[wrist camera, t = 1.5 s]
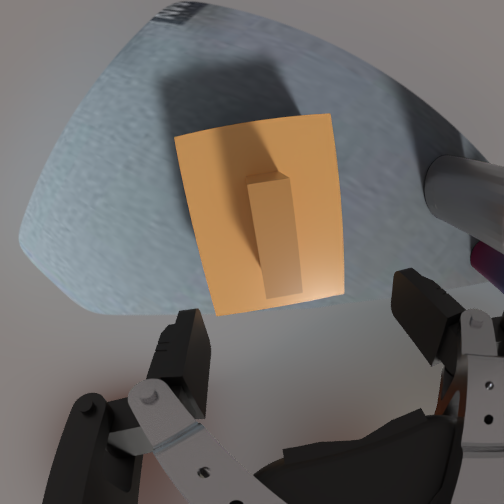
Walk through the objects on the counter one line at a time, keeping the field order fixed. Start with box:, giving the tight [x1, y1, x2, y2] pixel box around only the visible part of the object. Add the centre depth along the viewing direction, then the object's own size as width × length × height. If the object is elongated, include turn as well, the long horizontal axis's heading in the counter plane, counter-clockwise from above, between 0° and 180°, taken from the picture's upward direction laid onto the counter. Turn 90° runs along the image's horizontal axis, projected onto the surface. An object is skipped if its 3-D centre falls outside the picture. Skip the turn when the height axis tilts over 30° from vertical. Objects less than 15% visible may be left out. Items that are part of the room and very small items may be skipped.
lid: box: [174, 114, 344, 316], centre depth 21 cm, size 12×16×7 cm
